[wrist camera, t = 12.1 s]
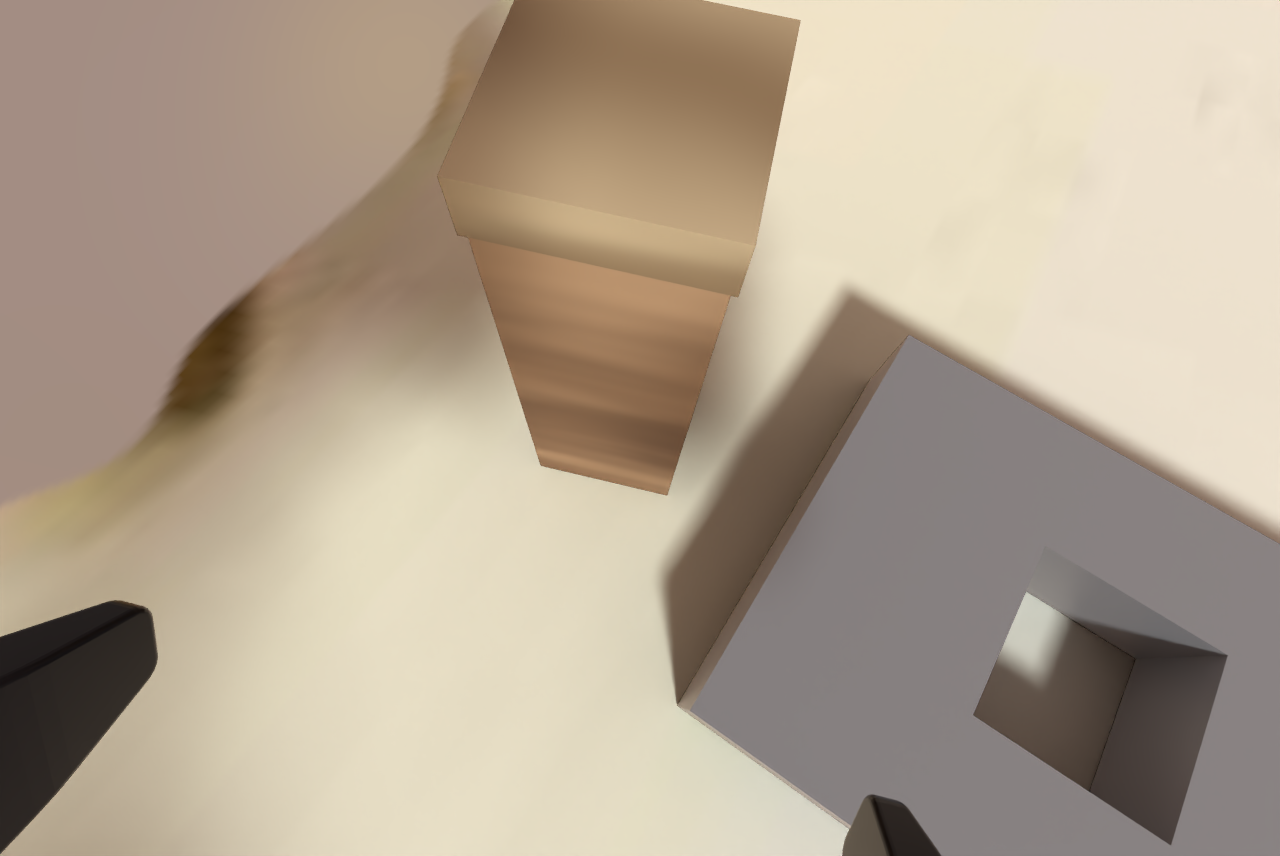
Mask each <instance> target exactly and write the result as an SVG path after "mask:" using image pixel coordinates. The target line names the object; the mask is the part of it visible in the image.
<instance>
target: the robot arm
mask: <svg viewBox="0 0 1280 856" xmlns="http://www.w3.org/2000/svg"><path fill="white" fill-rule="evenodd" d="M157 660H158V653H157V645H156V638H155V630H154V623H153V616H152V613H151V612H150V611H149V609H148V608H146V607H144V606H140V605H136V604H132V603H128V602H125V601H117V600H114V601H109V602H105V603H102V604H99V605H96V606H93V607H90V608H87V609H84V610H81V611H78V612H75V613H72V614H69V615H66V616H63V617H59V618H56V619H53V620H50V621H47V622H44V623H41V624H38V625H35V626H32V627H29V628H26V629H23V630H20V631H17V632H14V633H11V634H8V635H5V636H2V637H0V854H1V853H2V852H3V851H4V850H5V849H6V848H7V847H8V845H9V844H10V843H11V842H12V841H13V840H14V839H15V838H16V837H17V836H18V835H19V834H20V833H21V832H22V831H23V829H24V828H25V827H26V826H27V825H28V824H29V823H30V822H31V821H32V820H33V819H34V818H35V817H36V816H37V815H38V813H39V812H40V811H41V810H42V809H43V808H44V807H45V806H46V805H47V804H48V802H49V801H50V800H51V799H52V798H53V797H54V796H55V795H56V794H57V792H58V791H59V790H60V789H61V788H62V786H63V785H64V784H65V783H66V782H67V780H68V779H69V778H70V777H71V776H72V775H73V773H74V772H75V771H76V770H77V768H78V767H79V766H80V765H81V763H82V762H83V761H84V760H85V758H86V757H87V756H88V755H89V753H90V752H91V751H92V750H93V748H94V747H95V746H96V745H97V743H98V742H99V741H100V740H101V738H102V737H103V736H104V735H105V733H106V732H107V731H108V730H109V728H110V727H111V726H112V725H113V723H114V722H115V721H116V720H117V718H118V717H119V716H120V715H121V713H122V712H123V711H124V710H125V708H126V707H127V706H128V705H129V703H130V702H131V701H132V700H133V698H134V697H135V696H136V695H137V693H138V692H139V691H140V690H141V688H142V687H143V686H144V685H145V683H146V682H147V681H148V679H149V678H150V677H151V675H152V673H153V671H154V670H155V667H156V664H157ZM842 856H942V855H941V854H940V853H939V851H938V850H937V848H936V847H935V846H934V844H933V843H932V841H931V840H930V838H929V837H928V836H927V834H926V833H925V831H924V830H923V828H922V827H921V826H920V824H919V823H918V821H917V820H916V818H915V817H914V816H913V814H912V813H911V811H910V810H909V809H908V807H907V806H905V805H904V804H903V803H902V802H900V801H897V800H894V799H890V798H886V797H882V796H878V795H874V794H870V795H867V796H866V797H865V798H864V800H863V801H862V803H861V805H860V808H859V810H858V812H857V814H856V816H855V818H854V821H853V823H852V825H851V827H850V829H849V831H848V834H847V836H846V838H845V842H844V846H843V854H842Z"/></svg>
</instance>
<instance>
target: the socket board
mask: <svg viewBox="0 0 1280 856" xmlns="http://www.w3.org/2000/svg"><path fill="white" fill-rule="evenodd" d="M1026 591H1027V592H1028V593H1030V594H1031V595H1033V596H1035V597H1036V598H1038V599H1040V600H1041V601H1043V602H1044V603H1046V604H1048V605H1049V606H1051V607H1053V608H1054V609H1056V610H1057V611H1059V612H1061V613H1062V614H1064V615H1066V616H1067V617H1069V618H1070V619H1072V620H1074V621H1075V622H1077V623H1079V624H1080V625H1082V626H1083V627H1085V628H1087V629H1088V630H1090V631H1092V632H1093V633H1095V634H1096V635H1098V636H1100V637H1101V638H1103V639H1105V640H1106V641H1108V642H1109V643H1111V644H1113V645H1114V646H1116V647H1118V648H1119V649H1121V650H1122V651H1124V652H1126V653H1127V654H1129V655H1131V656H1132V657H1134V658H1135V659H1136V660H1135V663H1134V666H1133V668H1132V671H1131V674H1130V677H1129V680H1128V683H1127V686H1126V688H1125V691H1124V694H1123V697H1122V700H1121V703H1120V706H1119V708H1118V711H1117V714H1116V717H1115V720H1114V723H1113V726H1112V728H1111V731H1110V734H1109V737H1108V740H1107V743H1106V746H1105V748H1104V751H1103V754H1102V757H1101V760H1100V763H1099V766H1098V768H1097V771H1096V774H1095V777H1094V780H1093V783H1092V786H1091V788H1090V791H1087V790H1086V789H1084V788H1083V787H1081V786H1080V785H1078V784H1077V783H1075V782H1074V781H1072V780H1071V779H1069V778H1068V777H1066V776H1065V775H1063V774H1062V773H1060V772H1059V771H1057V770H1056V769H1054V768H1052V767H1051V766H1049V765H1048V764H1046V763H1045V762H1043V761H1042V760H1040V759H1039V758H1037V757H1036V756H1034V755H1033V754H1031V753H1030V752H1028V751H1027V750H1025V749H1024V748H1022V747H1021V746H1019V745H1018V744H1016V743H1015V742H1013V741H1011V740H1010V739H1008V738H1007V737H1005V736H1004V735H1002V734H1001V733H999V732H998V731H996V730H995V729H993V728H992V727H990V726H989V725H987V724H986V723H984V722H983V721H981V720H980V719H978V718H977V717H975V716H974V715H973V714H974V712H975V709H976V707H977V705H978V702H979V700H980V698H981V695H982V693H983V691H984V688H985V686H986V684H987V681H988V679H989V677H990V674H991V672H992V670H993V667H994V665H995V663H996V660H997V658H998V656H999V653H1000V651H1001V649H1002V646H1003V644H1004V642H1005V639H1006V637H1007V635H1008V632H1009V630H1010V628H1011V625H1012V623H1013V621H1014V618H1015V616H1016V614H1017V611H1018V609H1019V607H1020V604H1021V602H1022V600H1023V597H1024V595H1025V592H1026ZM677 706H678V707H680V708H681V709H682V710H684V711H685V712H687V713H688V714H689V715H691V716H692V717H693V718H695V719H696V720H698V721H699V722H700V723H702V724H703V725H705V726H706V727H707V728H709V729H710V730H712V731H713V732H714V733H716V734H717V735H719V736H720V737H721V738H723V739H724V740H726V741H727V742H728V743H730V744H731V745H733V746H734V747H735V748H737V749H738V750H740V751H741V752H742V753H744V754H745V755H747V756H748V757H749V758H751V759H752V760H754V761H755V762H756V763H758V764H759V765H761V766H762V767H763V768H765V769H766V770H768V771H769V772H770V773H772V774H773V775H775V776H776V777H777V778H779V779H780V780H782V781H783V782H784V783H786V784H787V785H789V786H790V787H791V788H793V789H794V790H796V791H797V792H798V793H800V794H801V795H803V796H804V797H805V798H807V799H808V800H810V801H811V802H812V803H814V804H815V805H817V806H818V807H819V808H821V809H822V810H824V811H825V812H826V813H828V814H829V815H831V816H832V817H833V818H835V819H836V820H838V821H839V822H840V823H842V824H843V825H845V826H846V827H847V828H849V829H850V827H851V825H852V823H853V821H854V818H855V816H856V814H857V812H858V810H859V808H860V805H861V803H862V801H863V800H864V798H865V797H866V796H867V795H870V794H874V795H878V796H882V797H886V798H890V799H894V800H897V801H900V802H902V803H903V804H904V805H905V806H907V807H908V809H909V810H910V811H911V813H912V814H913V816H914V817H915V818H916V820H917V821H918V823H919V824H920V826H921V827H922V828H923V830H924V831H925V833H926V834H927V836H928V837H929V838H930V840H931V841H932V843H933V844H934V846H935V847H936V848H937V850H938V851H939V853H940V854H941V855H942V856H1280V544H1279V543H1277V542H1275V541H1274V540H1272V539H1270V538H1268V537H1267V536H1265V535H1263V534H1261V533H1260V532H1258V531H1256V530H1254V529H1252V528H1251V527H1249V526H1247V525H1245V524H1244V523H1242V522H1240V521H1238V520H1236V519H1235V518H1233V517H1231V516H1229V515H1228V514H1226V513H1224V512H1222V511H1221V510H1219V509H1217V508H1215V507H1213V506H1212V505H1210V504H1208V503H1206V502H1205V501H1203V500H1201V499H1199V498H1197V497H1196V496H1194V495H1192V494H1190V493H1189V492H1187V491H1185V490H1183V489H1182V488H1180V487H1178V486H1176V485H1174V484H1173V483H1171V482H1169V481H1167V480H1166V479H1164V478H1162V477H1160V476H1158V475H1157V474H1155V473H1153V472H1151V471H1150V470H1148V469H1146V468H1144V467H1142V466H1141V465H1139V464H1137V463H1135V462H1134V461H1132V460H1130V459H1128V458H1127V457H1125V456H1123V455H1121V454H1119V453H1118V452H1116V451H1114V450H1112V449H1111V448H1109V447H1107V446H1105V445H1103V444H1102V443H1100V442H1098V441H1096V440H1095V439H1093V438H1091V437H1089V436H1088V435H1086V434H1084V433H1082V432H1080V431H1079V430H1077V429H1075V428H1073V427H1072V426H1070V425H1068V424H1066V423H1064V422H1063V421H1061V420H1059V419H1057V418H1056V417H1054V416H1052V415H1050V414H1049V413H1047V412H1045V411H1043V410H1041V409H1040V408H1038V407H1036V406H1034V405H1033V404H1031V403H1029V402H1027V401H1025V400H1024V399H1022V398H1020V397H1018V396H1017V395H1015V394H1013V393H1011V392H1009V391H1008V390H1006V389H1004V388H1002V387H1001V386H999V385H997V384H995V383H994V382H992V381H990V380H988V379H986V378H985V377H983V376H981V375H979V374H978V373H976V372H974V371H972V370H970V369H969V368H967V367H965V366H963V365H962V364H960V363H958V362H956V361H955V360H953V359H951V358H949V357H947V356H946V355H944V354H942V353H940V352H939V351H937V350H935V349H933V348H931V347H930V346H928V345H926V344H924V343H923V342H921V341H919V340H917V339H915V338H914V337H912V336H910V335H908V336H907V338H906V339H905V340H904V341H903V342H902V343H901V344H900V346H899V347H898V348H897V349H896V350H895V351H894V352H893V354H892V355H891V356H890V357H889V358H888V359H887V360H886V362H885V363H884V364H883V365H882V366H881V367H880V369H879V370H878V371H877V372H876V373H875V374H874V375H873V377H872V378H871V379H870V380H869V382H868V384H867V385H866V387H865V389H864V390H863V392H862V394H861V396H860V397H859V399H858V401H857V402H856V404H855V406H854V407H853V409H852V411H851V412H850V414H849V416H848V418H847V419H846V421H845V423H844V424H843V426H842V428H841V429H840V431H839V433H838V434H837V436H836V438H835V439H834V441H833V443H832V445H831V446H830V448H829V450H828V451H827V453H826V455H825V456H824V458H823V460H822V461H821V463H820V465H819V467H818V468H817V470H816V472H815V473H814V475H813V477H812V478H811V480H810V482H809V483H808V485H807V487H806V488H805V490H804V492H803V494H802V495H801V497H800V499H799V500H798V502H797V504H796V505H795V507H794V509H793V510H792V512H791V514H790V516H789V517H788V519H787V521H786V522H785V524H784V526H783V527H782V529H781V531H780V532H779V534H778V536H777V538H776V539H775V541H774V543H773V544H772V546H771V548H770V549H769V551H768V553H767V554H766V556H765V558H764V559H763V561H762V563H761V565H760V566H759V568H758V570H757V571H756V573H755V575H754V576H753V578H752V580H751V581H750V583H749V585H748V587H747V588H746V590H745V592H744V593H743V595H742V597H741V598H740V600H739V602H738V603H737V605H736V607H735V608H734V610H733V612H732V614H731V615H730V617H729V619H728V620H727V622H726V624H725V625H724V627H723V629H722V630H721V632H720V634H719V636H718V637H717V639H716V641H715V642H714V644H713V646H712V647H711V649H710V651H709V652H708V654H707V656H706V657H705V659H704V661H703V663H702V664H701V666H700V668H699V669H698V671H697V673H696V674H695V676H694V678H693V679H692V681H691V683H690V685H689V686H688V688H687V690H686V691H685V693H684V695H683V696H682V698H681V700H680V701H679V703H678V705H677Z"/></svg>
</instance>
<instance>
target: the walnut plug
mask: <svg viewBox="0 0 1280 856" xmlns="http://www.w3.org/2000/svg"><path fill="white" fill-rule="evenodd" d="M800 21H801V20H797V19H792V18H787V17H782V16H777V15H772V14H767V13H762V12H758V11H753V10H748V9H743V8H738V7H733V6H728V5H723V4H718V3H713V2H709V1H704V0H514V2H513V5H512V7H511V9H510V12H509V14H508V16H507V18H506V21H505V23H504V25H503V27H502V30H501V32H500V34H499V37H498V39H497V41H496V43H495V46H494V48H493V50H492V53H491V55H490V57H489V59H488V62H487V64H486V66H485V68H484V71H483V73H482V75H481V78H480V80H479V82H478V84H477V87H476V89H475V91H474V94H473V96H472V98H471V100H470V103H469V105H468V107H467V109H466V112H465V114H464V116H463V119H462V121H461V123H460V125H459V128H458V130H457V132H456V135H455V137H454V139H453V141H452V144H451V146H450V148H449V150H448V153H447V155H446V157H445V160H444V162H443V164H442V166H441V169H440V171H439V173H438V176H437V177H438V180H439V183H440V186H441V189H442V192H443V195H444V197H445V200H446V203H447V206H448V209H449V212H450V215H451V218H452V221H453V224H454V227H455V230H456V233H457V235H459V236H464V237H468V239H469V242H470V245H471V248H472V251H473V254H474V258H475V261H476V264H477V267H478V270H479V273H480V276H481V280H482V283H483V286H484V289H485V292H486V295H487V298H488V302H489V305H490V308H491V311H492V314H493V317H494V320H495V323H496V327H497V330H498V333H499V336H500V339H501V342H502V345H503V349H504V352H505V355H506V358H507V361H508V364H509V367H510V371H511V374H512V377H513V380H514V383H515V386H516V389H517V393H518V396H519V399H520V402H521V405H522V408H523V411H524V415H525V418H526V421H527V424H528V427H529V430H530V433H531V437H532V440H533V443H534V446H535V449H536V452H537V455H538V459H539V462H540V465H541V466H545V467H549V468H553V469H557V470H561V471H566V472H570V473H574V474H578V475H583V476H587V477H591V478H595V479H600V480H604V481H608V482H612V483H617V484H621V485H625V486H629V487H634V488H638V489H642V490H646V491H651V492H655V493H659V494H663V495H667V494H668V491H669V488H670V485H671V481H672V478H673V475H674V472H675V469H676V466H677V463H678V460H679V456H680V453H681V450H682V447H683V444H684V441H685V438H686V434H687V431H688V428H689V425H690V422H691V419H692V416H693V412H694V409H695V406H696V403H697V400H698V397H699V394H700V390H701V387H702V384H703V381H704V378H705V375H706V372H707V368H708V365H709V362H710V359H711V356H712V353H713V350H714V346H715V343H716V340H717V337H718V334H719V331H720V328H721V324H722V321H723V318H724V315H725V312H726V309H727V306H728V302H729V299H730V296H734V297H738V296H739V293H740V290H741V287H742V284H743V281H744V278H745V275H746V272H747V269H748V266H749V264H750V261H751V258H752V255H753V252H754V249H755V246H756V241H757V236H758V231H759V226H760V221H761V216H762V211H763V206H764V201H765V196H766V191H767V186H768V181H769V176H770V171H771V166H772V161H773V156H774V151H775V146H776V141H777V136H778V131H779V126H780V121H781V116H782V111H783V106H784V101H785V96H786V91H787V86H788V81H789V76H790V71H791V66H792V61H793V56H794V51H795V46H796V41H797V36H798V31H799V26H800Z"/></svg>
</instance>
